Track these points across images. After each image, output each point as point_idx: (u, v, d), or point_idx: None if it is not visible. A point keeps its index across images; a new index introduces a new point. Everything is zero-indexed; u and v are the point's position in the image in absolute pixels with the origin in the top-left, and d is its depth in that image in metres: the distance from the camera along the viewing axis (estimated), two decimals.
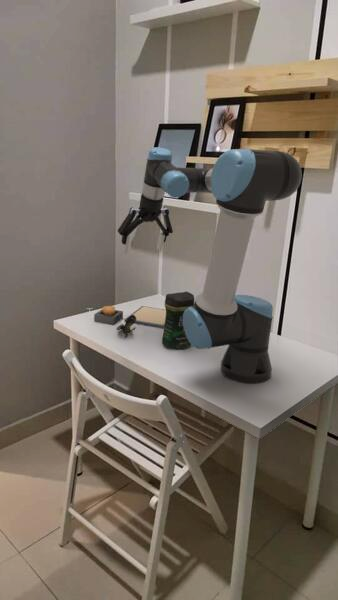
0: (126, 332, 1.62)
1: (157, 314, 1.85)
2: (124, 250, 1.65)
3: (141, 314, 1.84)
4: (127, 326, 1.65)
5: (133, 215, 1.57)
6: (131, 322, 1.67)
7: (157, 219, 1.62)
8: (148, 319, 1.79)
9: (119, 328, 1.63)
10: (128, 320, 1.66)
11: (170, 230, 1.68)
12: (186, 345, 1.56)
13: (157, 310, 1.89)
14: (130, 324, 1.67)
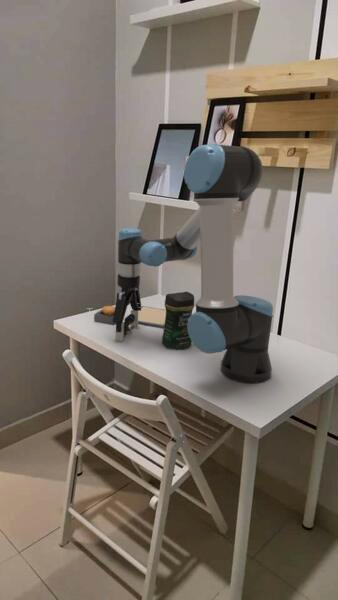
0: (125, 331, 1.63)
1: (157, 314, 1.85)
2: (120, 338, 1.60)
3: (141, 314, 1.84)
4: (126, 325, 1.65)
5: (124, 299, 1.56)
6: (130, 321, 1.68)
7: (135, 296, 1.64)
8: (148, 319, 1.79)
9: None
10: (127, 319, 1.67)
11: (140, 304, 1.71)
12: (186, 345, 1.56)
13: (157, 310, 1.89)
14: (129, 323, 1.68)
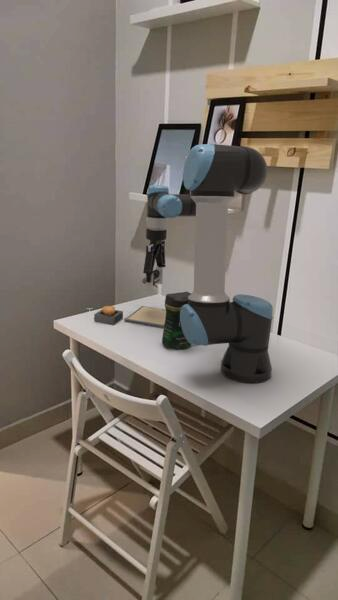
0: None
1: (157, 314, 1.85)
2: (149, 288, 1.75)
3: (141, 314, 1.84)
4: None
5: (152, 251, 1.70)
6: (155, 276, 1.81)
7: (161, 250, 1.78)
8: (148, 319, 1.79)
9: (144, 280, 1.77)
10: None
11: (164, 261, 1.84)
12: (186, 345, 1.56)
13: (157, 310, 1.89)
14: (154, 278, 1.81)
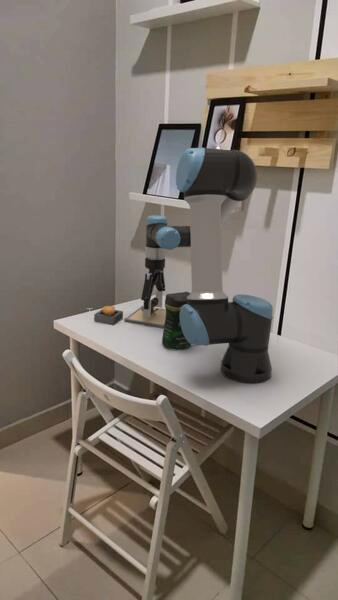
0: None
1: (157, 314, 1.85)
2: (147, 315, 1.77)
3: (141, 314, 1.84)
4: None
5: (151, 279, 1.73)
6: (154, 304, 1.84)
7: (160, 277, 1.81)
8: (148, 319, 1.79)
9: None
10: (151, 302, 1.83)
11: (164, 285, 1.88)
12: (186, 345, 1.56)
13: (157, 310, 1.89)
14: (153, 306, 1.84)
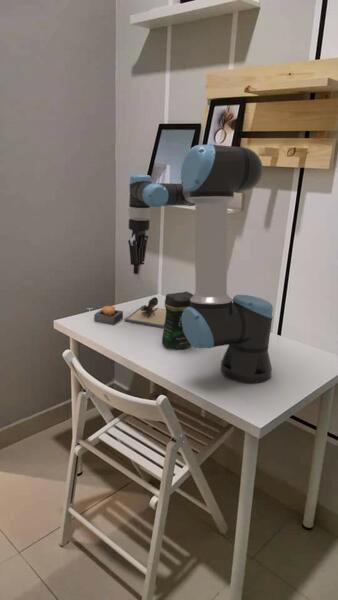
0: (149, 312, 1.79)
1: (157, 314, 1.85)
2: (137, 280, 1.77)
3: (141, 314, 1.84)
4: (150, 307, 1.82)
5: (135, 244, 1.68)
6: (153, 304, 1.85)
7: (144, 242, 1.74)
8: (148, 319, 1.79)
9: (142, 308, 1.80)
10: (151, 302, 1.83)
11: (144, 258, 1.78)
12: (186, 345, 1.56)
13: (157, 310, 1.89)
14: (152, 305, 1.84)
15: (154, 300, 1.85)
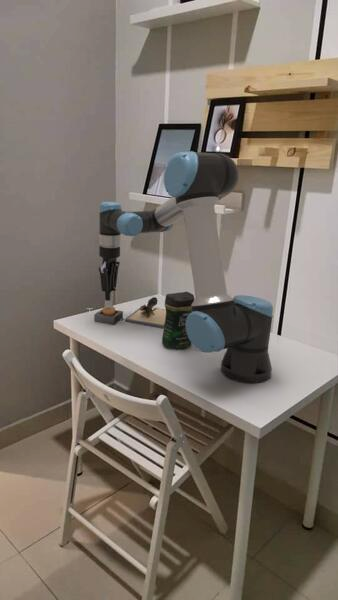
0: (148, 312, 1.80)
1: (157, 314, 1.85)
2: (109, 306, 1.77)
3: (141, 314, 1.84)
4: (149, 307, 1.82)
5: (106, 272, 1.68)
6: (153, 304, 1.85)
7: (115, 268, 1.74)
8: (148, 319, 1.79)
9: (142, 308, 1.80)
10: (150, 302, 1.83)
11: (115, 284, 1.77)
12: (186, 345, 1.56)
13: (157, 310, 1.89)
14: (152, 305, 1.84)
15: (153, 300, 1.85)
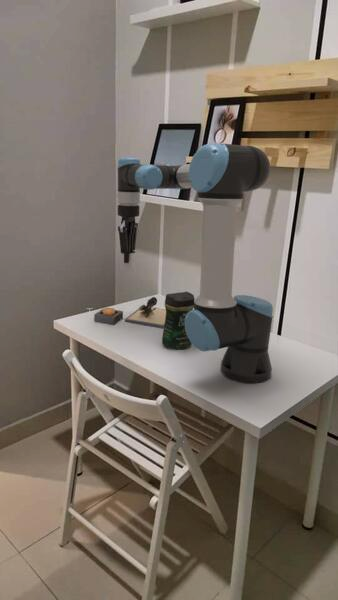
0: (147, 312, 1.80)
1: (157, 314, 1.85)
2: (128, 269, 1.68)
3: (141, 314, 1.84)
4: (148, 307, 1.82)
5: (125, 231, 1.60)
6: (152, 303, 1.85)
7: (134, 229, 1.66)
8: (148, 319, 1.79)
9: (141, 308, 1.80)
10: (149, 301, 1.84)
11: (134, 246, 1.69)
12: (186, 345, 1.56)
13: (157, 310, 1.89)
14: (151, 305, 1.84)
15: (153, 300, 1.85)
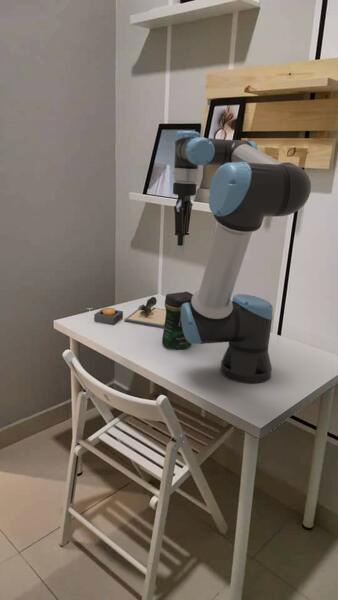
0: (147, 312, 1.80)
1: (157, 314, 1.85)
2: (181, 252, 1.57)
3: (141, 314, 1.84)
4: (148, 307, 1.82)
5: (182, 211, 1.49)
6: (152, 303, 1.85)
7: (189, 209, 1.55)
8: (148, 319, 1.79)
9: (140, 308, 1.81)
10: (149, 301, 1.84)
11: (188, 228, 1.58)
12: (186, 345, 1.56)
13: (157, 310, 1.89)
14: (151, 305, 1.84)
15: (153, 300, 1.85)
